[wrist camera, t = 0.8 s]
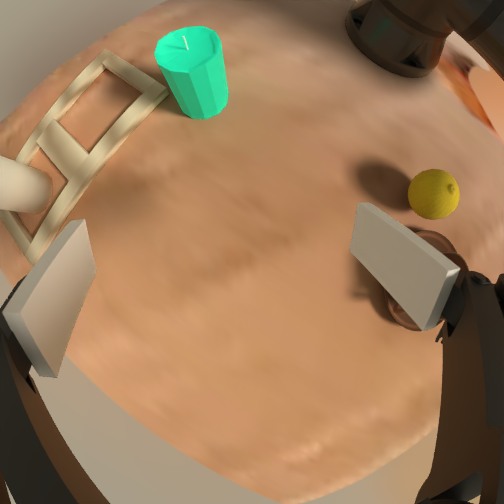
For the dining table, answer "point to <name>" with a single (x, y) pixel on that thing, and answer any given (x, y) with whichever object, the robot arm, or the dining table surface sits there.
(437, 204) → the lemon
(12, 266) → the dining table surface
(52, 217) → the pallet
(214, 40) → the candle
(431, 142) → the dining table surface
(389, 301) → the cup and saucer
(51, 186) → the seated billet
